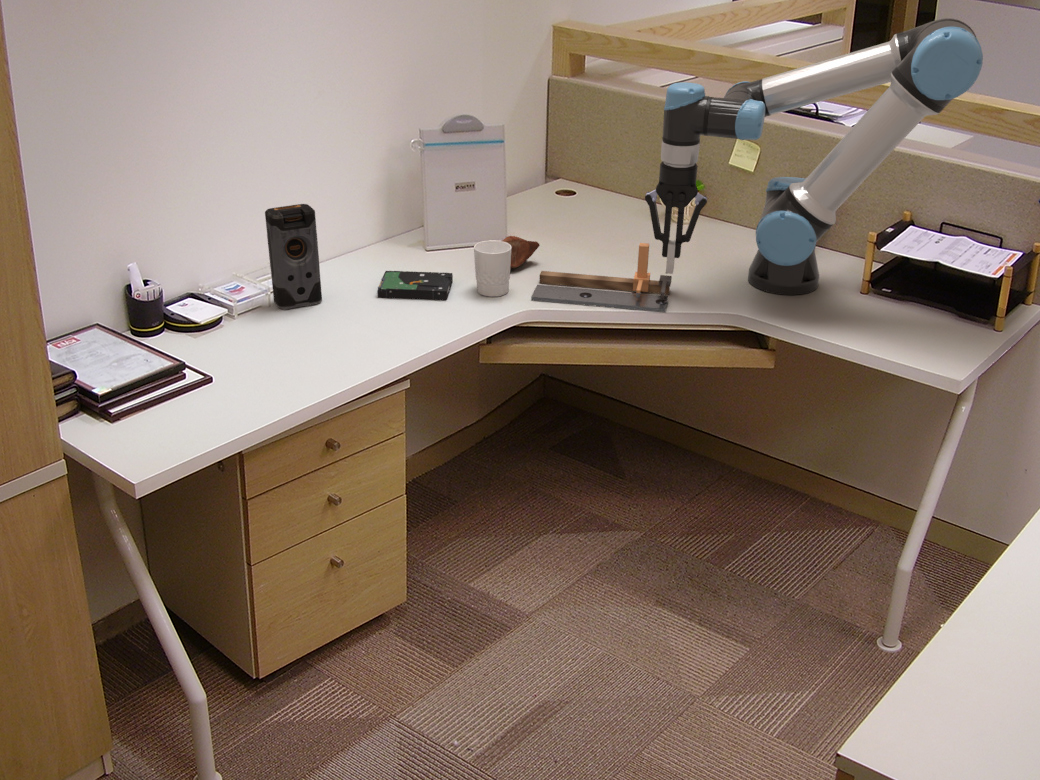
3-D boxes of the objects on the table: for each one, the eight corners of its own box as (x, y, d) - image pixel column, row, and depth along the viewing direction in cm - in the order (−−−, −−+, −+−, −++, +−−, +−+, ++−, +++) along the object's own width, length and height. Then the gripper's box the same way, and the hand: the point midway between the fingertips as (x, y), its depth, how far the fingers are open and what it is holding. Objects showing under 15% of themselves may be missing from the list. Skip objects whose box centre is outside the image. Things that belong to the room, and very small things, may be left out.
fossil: (542, 244, 246) (527, 216, 238) (546, 271, 241) (532, 244, 233) (490, 261, 248) (474, 234, 241) (493, 289, 244) (477, 262, 236)
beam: (670, 289, 232) (671, 275, 230) (667, 307, 224) (668, 292, 222) (541, 278, 237) (542, 264, 235) (533, 295, 228) (534, 281, 227)
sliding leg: (649, 284, 233) (652, 242, 228) (645, 302, 224) (648, 258, 220) (634, 283, 233) (637, 240, 229) (629, 301, 225) (632, 257, 220)
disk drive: (452, 284, 235) (385, 281, 235) (452, 272, 233) (384, 269, 234) (447, 303, 226) (377, 300, 226) (447, 290, 224) (376, 287, 225)
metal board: (669, 299, 227) (669, 295, 227) (666, 312, 221) (666, 308, 221) (537, 288, 232) (537, 284, 231) (531, 300, 226) (531, 296, 225)
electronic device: (280, 311, 219) (271, 217, 210) (272, 301, 224) (262, 208, 214) (324, 303, 223) (317, 210, 214) (315, 293, 228) (307, 202, 218)
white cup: (506, 299, 226) (507, 254, 221) (470, 296, 227) (469, 251, 223) (514, 285, 233) (514, 241, 228) (479, 282, 234) (478, 238, 230)
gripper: (712, 159, 220) (701, 267, 231) (648, 155, 222) (640, 262, 233) (710, 169, 213) (699, 280, 224) (645, 165, 216) (637, 275, 227)
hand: (669, 271), depth 229 cm, fingers closed
